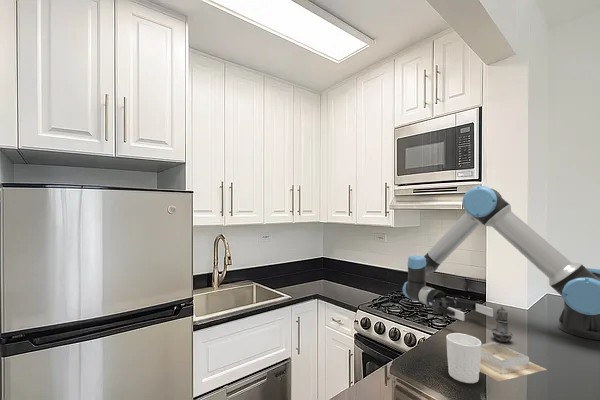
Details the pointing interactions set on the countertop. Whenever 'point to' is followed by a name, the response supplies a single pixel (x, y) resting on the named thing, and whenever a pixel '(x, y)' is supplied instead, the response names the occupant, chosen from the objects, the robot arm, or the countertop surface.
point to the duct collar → (513, 358)
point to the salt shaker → (502, 327)
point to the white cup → (463, 357)
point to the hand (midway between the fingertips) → (478, 314)
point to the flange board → (499, 377)
